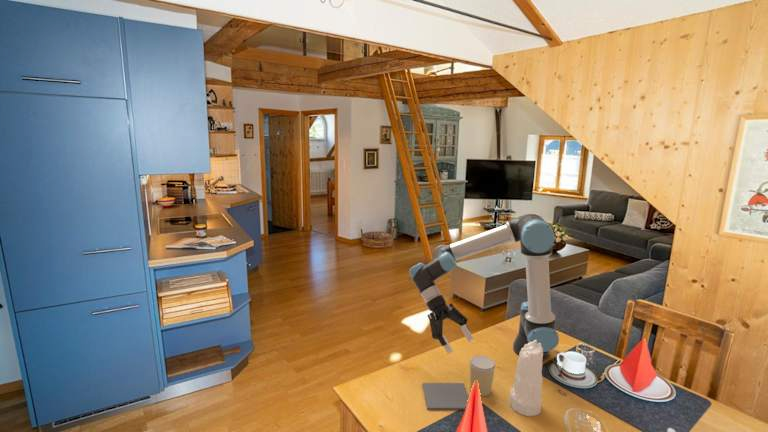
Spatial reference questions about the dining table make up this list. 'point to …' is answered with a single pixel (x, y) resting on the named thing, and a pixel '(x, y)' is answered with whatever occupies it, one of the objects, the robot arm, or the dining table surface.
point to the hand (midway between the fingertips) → (461, 346)
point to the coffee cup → (482, 373)
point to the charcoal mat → (445, 396)
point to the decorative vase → (528, 381)
